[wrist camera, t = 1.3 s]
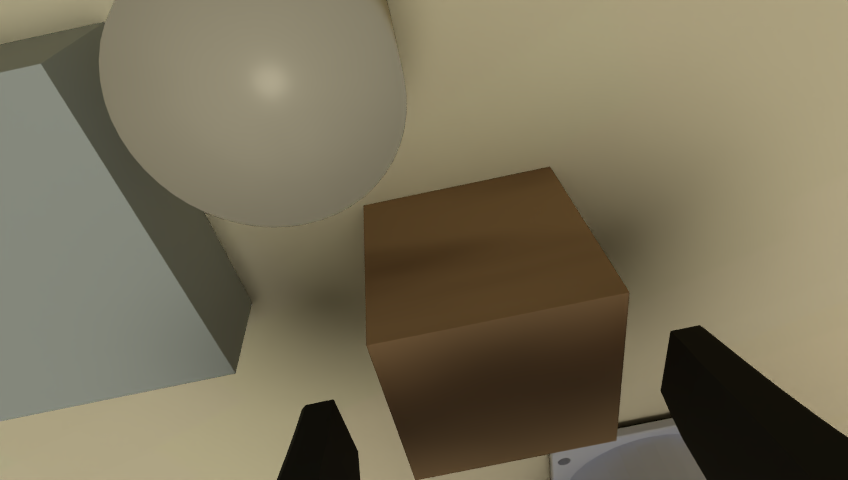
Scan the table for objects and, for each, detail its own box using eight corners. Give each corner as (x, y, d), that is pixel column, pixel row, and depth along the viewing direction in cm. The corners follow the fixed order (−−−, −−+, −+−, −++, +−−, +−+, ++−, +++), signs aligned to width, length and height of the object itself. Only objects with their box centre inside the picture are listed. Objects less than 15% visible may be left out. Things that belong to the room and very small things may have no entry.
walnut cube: (553, 300, 17) (616, 440, 13) (401, 331, 17) (415, 480, 13) (548, 165, 14) (629, 292, 10) (363, 203, 14) (365, 345, 10)
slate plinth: (253, 293, 16) (235, 373, 13) (-2, 346, 16) (-67, 434, 13) (111, 17, 11) (40, 63, 8) (-257, 97, 11) (-429, 165, 8)
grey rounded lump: (410, 110, 12) (429, 198, 9) (229, 148, 12) (184, 249, 9) (365, -110, 10) (369, -96, 6) (136, -60, 10) (28, -20, 7)
